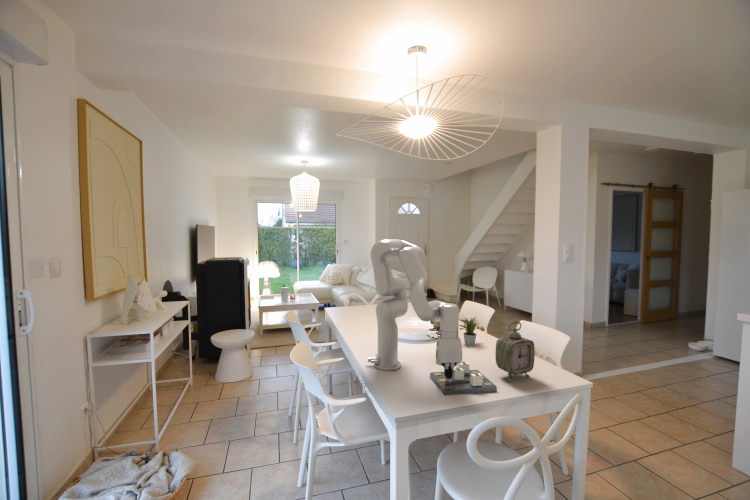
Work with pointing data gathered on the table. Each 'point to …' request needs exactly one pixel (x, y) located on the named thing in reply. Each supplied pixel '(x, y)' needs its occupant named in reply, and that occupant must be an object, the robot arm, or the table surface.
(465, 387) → the board
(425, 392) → the table surface
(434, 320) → the owl figurine
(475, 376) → the near toggle
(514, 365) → the tabletop clock
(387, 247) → the robot arm
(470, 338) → the house plant
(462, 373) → the block
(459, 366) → the far toggle
